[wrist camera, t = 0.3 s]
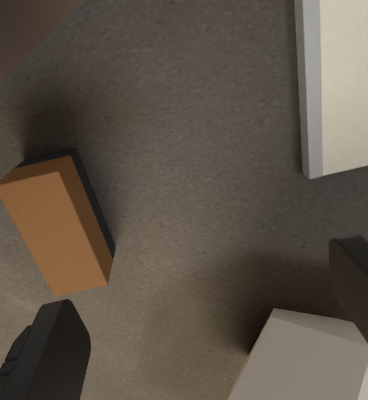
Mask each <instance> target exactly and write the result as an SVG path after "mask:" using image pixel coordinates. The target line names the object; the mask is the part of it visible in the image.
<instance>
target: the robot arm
mask: <svg viewBox="0 0 368 400" xmlns="http://www.w3.org/2000/svg"><path fill="white" fill-rule="evenodd" d="M329 268H330V282H331V286H332V289H333V292H334V294H335V296H336V298H337V300H338V301H339V303H340V304H341V305H342V307H343V308H344V310H345V311H346V313H347V314H348V316H349V317H350V318H351V320H352V321H353V323H354V324H355V326H356V327H357V329H358V330H359V331H360V333H361V334H362V336H363V337H364V339H365V340H366V342H367V343H368V241H367V240H366V239H365V238H364V237H363V236H361V235H360V234H358V233H355V234H351V235H346V236H342V237H338V238H333V239H331V240H330V241H329ZM90 352H91V341H90V336H89V333H88V331H87V329H86V327H85V325H84V323H83V321H82V320H81V318H80V316H79V314H78V312H77V310H76V309H75V307H74V305H73V303H72V302H71V301H70V300H69V299H65V300H61V301H57V302H52V303H48V304H44V305H42V306H41V307H40V309H39V311H38V313H37V315H36V317H35V320H34V322H33V324H32V325H30V326H27V327H26V328H25V329H24V331H23V332H22V333H21V334H20V335H19V336H18V338H17V339H16V340H15V341H14V342H13V344H12V346H11V348H10V350H9V352H8V354H7V356H6V358H5V363H3V364H2V367H1V369H0V400H80V396H81V392H82V387H83V383H84V379H85V374H86V370H87V366H88V361H89V357H90Z"/></svg>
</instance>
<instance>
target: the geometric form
mask: <svg viewBox="0 0 368 400" xmlns="http://www.w3.org/2000/svg"><path fill="white" fill-rule="evenodd" d="M226 400H368V343H367V342H366V340H365V339H364V337H363V336H362V334H361V333H360V331H359V330H358V329H357V327H356V326H355V324H354V323H353V322H349V321H345V320H341V319H337V318H332V317H325V316H319V315H313V314H307V313H301V312H295V311H289V310H283V309H277V308H273V310H272V312H271V314H270V316H269V318H268V320H267V322H266V324H265V325H264V327H263V329H262V331H261V333H260V335H259V337H258V339H257V341H256V342H255V344H254V346H253V348H252V350H251V352H250V354H249V356H248V358H247V360H246V362H245V363H244V365H243V367H242V369H241V371H240V373H239V375H238V377H237V379H236V381H235V383H234V385H233V387H232V389H231V391H230V393H229V395H228V397H227V399H226Z"/></svg>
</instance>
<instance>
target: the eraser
mask: <svg viewBox="0 0 368 400" xmlns="http://www.w3.org/2000/svg"><path fill="white" fill-rule="evenodd" d="M0 198H1V200H2V202H3V203H4V205H5V207H6V209H7V211H8V213H9V214H10V216H11V218H12V220H13V222H14V223H15V225H16V227H17V229H18V231H19V233H20V234H21V236H22V238H23V240H24V242H25V243H26V245H27V247H28V249H29V251H30V253H31V254H32V256H33V258H34V260H35V262H36V263H37V265H38V267H39V269H40V271H41V273H42V274H43V276H44V278H45V280H46V282H47V283H48V285H49V287H50V289H51V291H52V293H53V294H54V296H59V295H63V294H68V293H73V292H77V291H82V290H86V289H91V288H95V287H100V286H104V285H108V281H109V276H110V272H111V267H112V263H113V258H114V254H115V249H116V248H115V245H114V243H113V240H112V238H111V235H110V233H109V230H108V228H107V225H106V222H105V220H104V217H103V215H102V212H101V210H100V207H99V205H98V202H97V200H96V197H95V194H94V192H93V189H92V187H91V184H90V182H89V179H88V177H87V174H86V172H85V169H84V166H83V164H82V161H81V159H80V156H79V154H78V151H77V149H76V148H74V149H70V150H66V151H62V152H58V153H53V154H49V155H45V156H41V157H36V158H32V159H28V160H24V161H22V162H21V163H20V164H19V165H18V166H17V167H15V168H14V169H13V170H12V171H11V172H10V173H8V174H7V175H6V176H5V177H4V178H3V179H1V180H0Z"/></svg>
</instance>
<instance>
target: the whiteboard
mask: <svg viewBox="0 0 368 400" xmlns="http://www.w3.org/2000/svg"><path fill="white" fill-rule="evenodd" d="M294 6H295V26H296V47H297V67H298V87H299V108H300V128H301V148H302V169H303V174H304V175H305V176H306V177H308V178H309V179H314V178H318V177H322V176H324V175H328V174H333V173H337V172H341V171H346V170H350V169H355V168H359V167H363V166H368V0H294Z"/></svg>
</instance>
